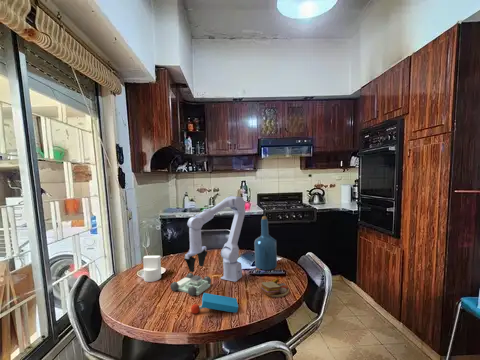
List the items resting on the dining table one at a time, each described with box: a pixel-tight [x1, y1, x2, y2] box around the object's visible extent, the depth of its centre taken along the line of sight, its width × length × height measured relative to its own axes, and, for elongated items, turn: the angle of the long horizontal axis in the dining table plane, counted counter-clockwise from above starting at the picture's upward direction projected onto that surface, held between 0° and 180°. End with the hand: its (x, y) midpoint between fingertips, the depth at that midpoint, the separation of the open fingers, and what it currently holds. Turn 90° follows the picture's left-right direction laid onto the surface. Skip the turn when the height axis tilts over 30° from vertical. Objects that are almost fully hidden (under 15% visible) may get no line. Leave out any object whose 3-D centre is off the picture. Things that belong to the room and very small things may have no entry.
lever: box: [190, 292, 239, 314], centre depth 96 cm, size 7×7×18 cm
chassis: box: [170, 272, 212, 297], centre depth 116 cm, size 16×13×4 cm
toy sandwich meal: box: [260, 277, 290, 298], centre depth 110 cm, size 12×14×5 cm
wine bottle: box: [253, 215, 278, 271], centre depth 140 cm, size 14×13×30 cm
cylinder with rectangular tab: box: [142, 255, 162, 283], centre depth 129 cm, size 9×9×12 cm
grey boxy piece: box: [190, 274, 203, 287], centre depth 115 cm, size 4×4×5 cm
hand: (196, 268), depth 116 cm, fingers open, 7 cm apart
